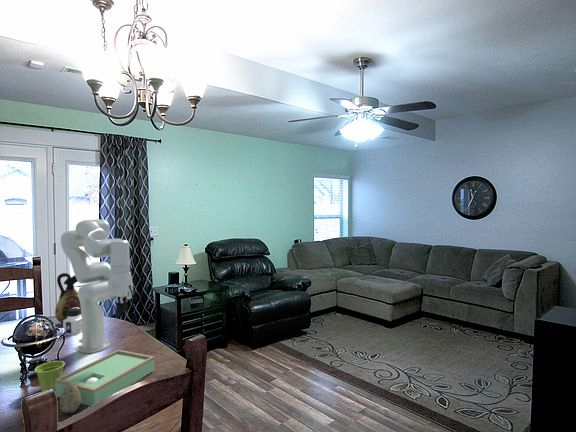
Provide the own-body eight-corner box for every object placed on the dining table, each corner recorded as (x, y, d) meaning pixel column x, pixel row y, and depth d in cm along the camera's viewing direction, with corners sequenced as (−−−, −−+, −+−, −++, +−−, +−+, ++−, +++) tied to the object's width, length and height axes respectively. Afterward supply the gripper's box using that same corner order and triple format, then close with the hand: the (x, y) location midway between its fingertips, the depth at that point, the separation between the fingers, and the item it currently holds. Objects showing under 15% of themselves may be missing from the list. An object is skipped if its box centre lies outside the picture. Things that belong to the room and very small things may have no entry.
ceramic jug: (89, 318, 218) (86, 269, 217) (83, 326, 204) (81, 274, 202) (56, 321, 213) (54, 271, 211) (48, 330, 198) (46, 276, 197)
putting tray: (55, 396, 129) (54, 379, 129) (119, 363, 155) (118, 349, 155) (94, 407, 122) (94, 390, 121) (154, 370, 148) (154, 356, 147)
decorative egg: (72, 418, 116) (70, 388, 115) (55, 417, 117) (54, 387, 116) (85, 408, 121) (84, 379, 121) (70, 406, 123) (68, 378, 122)
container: (77, 334, 191) (76, 310, 191) (63, 334, 191) (62, 310, 191) (85, 329, 199) (84, 306, 198) (72, 329, 199) (71, 306, 198)
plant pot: (45, 383, 139) (44, 361, 139) (70, 381, 140) (69, 360, 140) (30, 396, 130) (28, 372, 130) (57, 394, 131) (56, 371, 130)
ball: (82, 378, 131) (94, 375, 135) (80, 393, 130) (93, 389, 134) (90, 379, 129) (103, 376, 133) (89, 394, 128) (102, 391, 132)
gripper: (100, 269, 152) (101, 312, 153) (126, 271, 146) (128, 316, 147) (114, 266, 159) (116, 307, 159) (140, 268, 153) (142, 310, 154)
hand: (122, 311), depth 153 cm, fingers closed
